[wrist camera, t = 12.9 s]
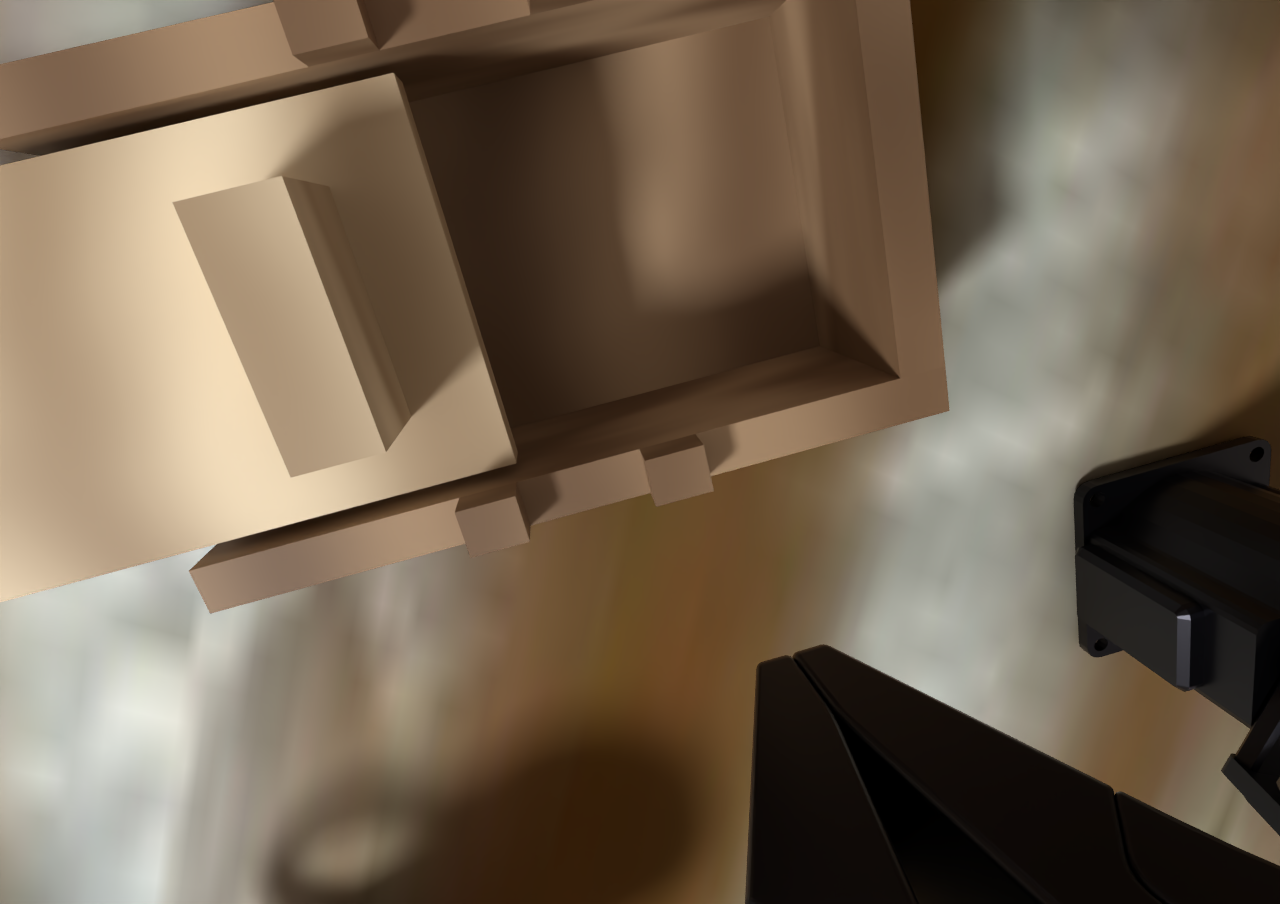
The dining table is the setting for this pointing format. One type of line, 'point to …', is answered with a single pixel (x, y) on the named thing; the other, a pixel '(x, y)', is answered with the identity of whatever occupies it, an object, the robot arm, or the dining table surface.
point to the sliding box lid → (229, 335)
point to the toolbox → (593, 232)
